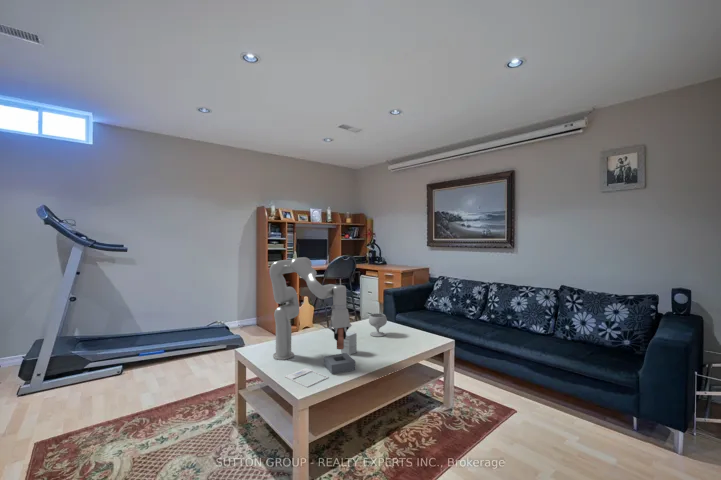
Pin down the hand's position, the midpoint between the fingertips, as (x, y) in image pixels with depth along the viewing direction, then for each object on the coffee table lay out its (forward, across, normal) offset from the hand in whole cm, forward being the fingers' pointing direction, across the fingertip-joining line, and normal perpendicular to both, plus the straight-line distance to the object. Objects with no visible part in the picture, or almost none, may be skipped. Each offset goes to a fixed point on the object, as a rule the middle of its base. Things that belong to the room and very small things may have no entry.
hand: (340, 338), depth 180 cm
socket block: (+16, 0, 0) cm, 16 cm away
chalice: (+16, +48, +48) cm, 70 cm away
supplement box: (+16, +14, +21) cm, 30 cm away
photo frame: (+17, -21, -5) cm, 27 cm away
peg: (+5, 0, 0) cm, 5 cm away
